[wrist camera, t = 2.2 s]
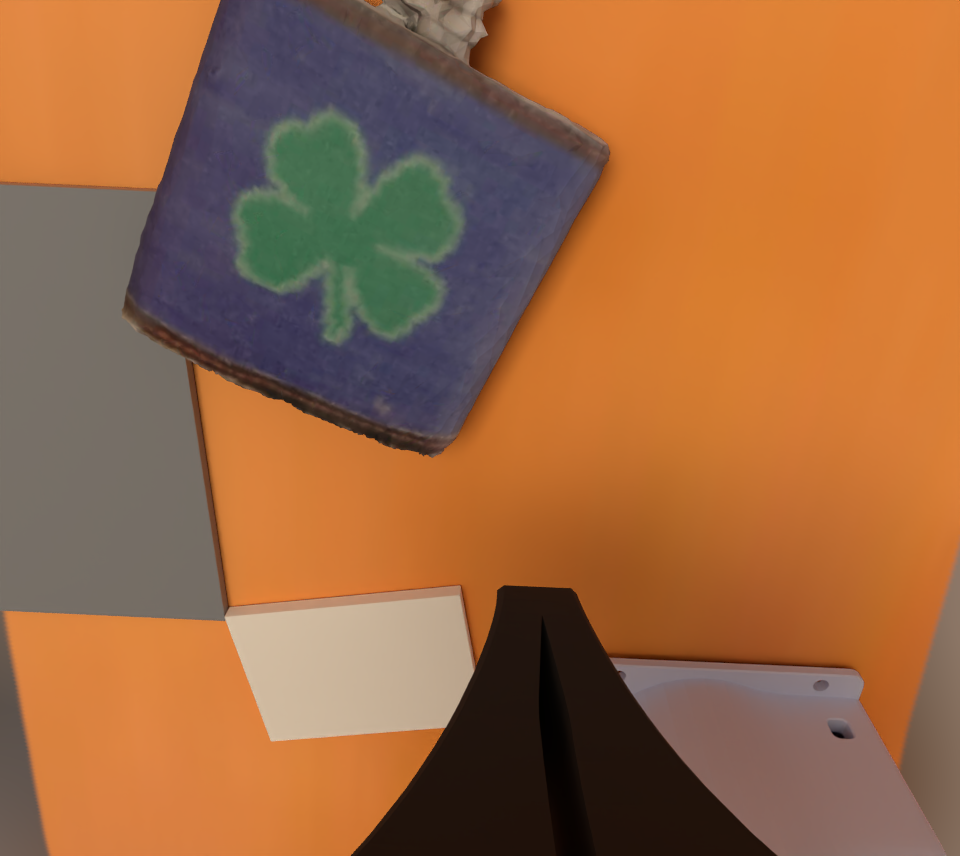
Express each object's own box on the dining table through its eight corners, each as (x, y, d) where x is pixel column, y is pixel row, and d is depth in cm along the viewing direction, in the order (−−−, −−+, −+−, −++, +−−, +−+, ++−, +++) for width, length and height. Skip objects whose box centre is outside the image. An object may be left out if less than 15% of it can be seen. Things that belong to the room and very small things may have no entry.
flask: (450, 431, 21) (648, 71, 17) (445, 480, 19) (678, 70, 15) (143, 290, 20) (282, -149, 15) (90, 323, 17) (241, -196, 13)
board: (166, 189, 19) (160, 191, 18) (229, 612, 25) (225, 620, 25) (-144, 175, 19) (-157, 177, 18) (-4, 602, 25) (-11, 609, 25)
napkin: (460, 585, 24) (459, 594, 24) (484, 713, 27) (483, 724, 26) (229, 607, 25) (224, 616, 24) (274, 730, 27) (270, 741, 27)
